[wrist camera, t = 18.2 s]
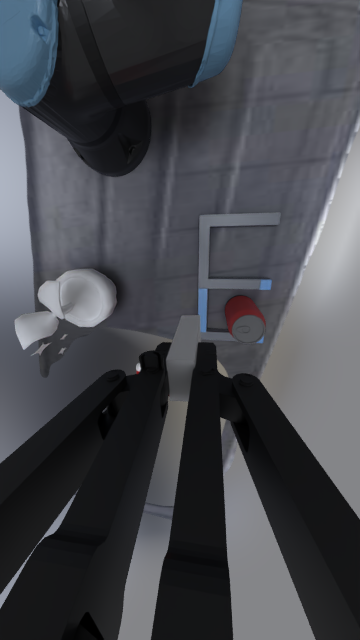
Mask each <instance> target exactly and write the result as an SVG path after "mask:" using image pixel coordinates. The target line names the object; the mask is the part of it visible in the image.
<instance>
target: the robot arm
mask: <svg viewBox="0 0 360 640" xmlns="http://www.w3.org/2000/svg"><path fill="white" fill-rule="evenodd" d="M242 2H243V0H0V89H1V90H2V91H3V92H4V93H5V94H6V95H7V96H8V97H9V98H10V99H11V100H12V101H13V102H14V103H16V104H18V105H19V106H21V107H23V108H24V109H26V110H27V111H29V112H30V113H31V114H33V115H34V116H36V117H37V118H39V119H40V120H42V121H43V122H45V123H46V124H47V125H49V126H50V127H52V128H53V129H55V130H56V131H58V132H59V133H60V134H62V135H63V136H65V137H66V138H67V139H68V140H69V142H70V144H71V145H72V147H73V148H74V150H75V152H76V153H77V154H78V156H79V157H80V158H81V159H82V160H83V161H84V162H85V163H86V164H87V165H88V166H89V167H91V168H92V169H94V170H96V171H97V172H99V173H101V174H103V175H107V176H122V175H125V174H127V173H129V172H131V171H132V170H133V169H135V168H136V167H137V166H138V165H139V163H140V162H141V161H142V159H143V158H144V156H145V154H146V151H147V149H148V146H149V142H150V136H151V118H150V112H149V108H148V105H147V102H146V99H149V98H152V97H155V96H158V95H161V94H164V93H167V92H170V91H173V90H176V89H179V88H182V87H185V86H188V87H189V88H192V87H194V86H195V85H197V83H198V82H201V81H203V80H206V79H209V78H211V77H214V76H216V75H218V74H219V73H221V72H222V71H223V69H224V68H225V66H226V65H227V63H228V62H229V60H230V57H231V55H232V52H233V49H234V45H235V42H236V37H237V32H238V27H239V22H240V15H241V9H242ZM139 361H140V367H141V370H140V372H139V373H138V374H135V375H129V376H126V374H125V372H124V371H122V370H111V371H109V372H106V373H105V374H103V375H102V376H101V377H100V378H99V379H98V380H96V381H95V382H94V383H93V384H92V385H91V386H89V387H88V388H87V389H86V390H85V391H83V392H82V393H81V394H80V395H79V396H78V397H77V398H75V399H74V400H73V401H72V402H71V403H70V404H68V405H67V406H66V407H65V408H64V409H63V410H62V411H60V412H59V413H58V414H57V415H56V416H55V417H54V418H53V419H51V420H50V421H49V422H48V423H47V424H45V426H43V427H42V428H41V429H40V430H39V431H37V432H36V433H35V434H34V435H33V436H32V437H31V438H29V439H28V440H27V441H26V442H25V443H24V444H22V445H21V446H20V447H19V448H18V449H17V450H16V451H14V452H13V453H12V454H11V455H10V456H9V457H7V458H6V459H5V460H4V461H3V462H2V463H0V594H1V593H2V592H3V590H4V589H5V587H6V586H7V584H8V583H9V582H10V581H11V579H12V578H13V577H14V575H15V574H16V573H17V571H18V570H19V569H20V567H21V566H22V564H23V563H24V562H25V560H26V559H27V557H28V556H29V555H30V554H31V552H32V551H33V549H34V548H35V546H36V545H37V544H38V543H39V541H40V540H41V539H42V537H43V536H44V535H45V533H46V532H47V531H48V529H49V528H50V526H51V525H52V524H53V522H54V520H55V519H56V518H57V517H58V515H59V514H60V513H61V512H62V510H63V509H64V507H65V506H66V505H67V503H68V502H69V501H70V499H71V498H72V496H73V495H74V494H75V493H76V491H77V490H78V488H79V487H80V488H79V490H78V492H77V494H76V496H75V498H74V500H73V502H72V504H71V506H70V508H69V510H68V512H67V514H66V516H65V518H64V519H63V521H62V523H61V525H60V527H59V528H58V529H57V531H56V532H55V533H54V534H52V535H49V536H47V537H45V538H44V539H43V540H42V541H41V542H40V543H39V544H38V545H37V546H36V548H35V550H34V551H33V553H32V554H31V556H30V557H29V559H28V561H27V562H26V564H25V566H24V568H23V569H22V571H21V573H20V575H19V577H18V579H17V580H16V582H15V584H14V586H13V587H12V589H11V591H10V593H9V595H8V596H7V598H6V600H5V602H4V603H3V605H2V607H1V609H0V640H117V639H118V634H119V629H120V625H121V619H122V612H123V600H124V590H125V584H126V579H127V575H128V571H129V567H130V563H131V559H132V555H133V550H134V546H135V542H136V538H137V534H138V530H139V526H140V521H141V517H142V513H143V509H144V505H145V501H146V497H147V492H148V489H149V484H150V480H151V476H152V472H153V468H154V464H155V459H156V456H157V451H158V447H159V443H160V439H161V435H162V430H163V426H164V422H165V418H166V414H167V410H168V396H169V397H170V401H188V409H187V416H186V423H185V431H184V438H183V445H182V452H181V460H180V467H179V474H178V482H177V489H176V497H175V504H174V511H173V518H172V526H171V533H170V541H169V546H168V551H167V553H166V556H165V558H164V561H163V566H162V571H161V577H160V583H159V590H158V596H157V602H156V609H155V616H154V623H153V629H152V636H151V640H233V628H232V610H231V592H230V578H229V568H228V561H227V544H226V524H225V504H224V484H223V464H222V444H221V424H220V417H221V418H224V419H227V420H229V421H230V422H231V426H232V428H233V431H234V434H235V436H236V439H237V441H238V443H239V446H240V449H241V451H242V454H243V456H244V459H245V461H246V464H247V466H248V469H249V472H250V474H251V476H252V479H253V482H254V484H255V487H256V489H257V491H258V494H259V497H260V499H261V502H262V505H263V507H264V509H265V512H266V515H267V517H268V520H269V522H270V525H271V527H272V530H273V532H274V535H275V538H276V540H277V543H278V545H279V547H280V550H281V553H282V555H283V558H284V560H285V563H286V565H287V568H288V570H289V573H290V576H291V578H292V580H293V583H294V585H295V588H296V591H297V593H298V596H299V598H300V601H301V603H302V606H303V608H304V611H305V614H306V616H307V619H308V621H309V624H310V626H311V629H312V631H313V634H314V636H315V639H316V640H360V519H359V518H358V516H357V515H356V514H355V512H354V511H353V509H352V508H351V507H350V506H349V504H348V503H347V501H346V500H345V499H344V497H343V496H342V494H341V493H340V491H339V490H338V489H337V487H336V486H335V484H334V483H333V482H332V480H331V479H330V477H329V476H328V475H327V474H326V472H325V471H324V469H323V468H322V466H321V465H320V464H319V462H318V461H317V460H316V458H315V457H314V455H313V454H312V452H311V451H310V450H309V448H308V447H307V446H306V444H305V443H304V442H303V440H302V439H301V437H300V436H299V435H298V433H297V432H296V430H295V429H294V427H293V426H292V425H291V423H290V422H289V421H288V419H287V418H286V416H285V415H284V414H283V412H282V411H281V410H280V408H279V407H278V405H277V404H276V402H275V401H274V400H273V398H272V397H271V396H270V394H269V393H268V391H267V390H266V389H265V387H264V386H263V384H262V383H261V382H260V380H259V379H258V378H257V377H255V376H253V375H251V374H246V373H241V374H237V375H235V376H234V377H233V379H232V378H228V377H225V376H223V375H221V374H220V373H219V372H218V370H217V355H216V346H215V345H214V343H206V342H201V328H200V315H182V316H181V319H180V322H179V325H178V327H177V330H176V333H175V336H174V339H173V341H172V343H170V342H169V343H167V342H166V343H165V342H163V343H161V344H159V345H158V346H157V348H156V350H155V351H147V352H144V353H142V354H141V355H140V356H139ZM105 408H107V410H106V411H105V412H103V413H102V411H103V410H104V409H105Z"/></svg>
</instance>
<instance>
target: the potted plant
mask: <svg viewBox="0 0 360 640" xmlns="http://www.w3.org/2000/svg"><path fill="white" fill-rule="evenodd" d="M116 294H117V291H116V286H115V284H114V283H113V282H112V280H111V279H109V278H107V277H106V275H104V274H102V273H100V272H98V271H96V270H94V269H93V268H90V269H76V270H71V271H66V272H65V273H64V274H63V275H61V276H60V277H59V278H58V279H56V281H46V282H45V283H44V284H43V285H42V286H41V287H40V288H39V292H38V298H39V301H40V302H41V303H43V304H44V305H45V306H47V307H48V308H49V309H50V310H51V311H52V313H50V312H48V311H44V312H35V313H29V314H22V315H21V316H19V317H18V318H17V319H16V320H15V330H16V334H17V336H18V338H19V341H20V343H21V345H22V347H23V349H24V350H25V349H26V348H27V347H28V346H29V345H30V344H32V343H33V342H34V341H37V340H39V339H42V338H45V337H48V336H51V335H52V334H53V333H54V332H55V331H56V330H57V327H58V323H59V321H58V319H57V318H56V317H59V318H60V319H64V318H65V319H66V320H67V321H69V322H71V323H73V324H75V325H77V326H79V327H94V326H95V325H97V324H98V323H100V322H101V321H103V320H104V319H106V318H107V317H109V316H110V315H111V314H112V313H113V311H114V308H115V306H116V303H117V299H116ZM67 335H68V334H67ZM65 336H66V335H64V336H63V337H62V338H61V339H64V338H65ZM49 344H50V343H49ZM49 344H46V345H44V344H42V346H41V347H40V348H39V349H38V350H37V351H36V352H35V353H34V354H36V353H39V354H41V352H42V351H43V349H44V348H45V347H46V346H48V345H49ZM64 350H65V348H64V349H63V348H62V349H61V351H60V352H59V353H63V351H64ZM59 353H58V354H59Z"/></svg>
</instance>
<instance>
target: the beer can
mask: <svg viewBox="0 0 360 640" xmlns="http://www.w3.org/2000/svg"><path fill="white" fill-rule="evenodd" d="M225 315H226V320H227V326H228V330H229V332H230V334H231V335H232V337H233V338H234V339H235V340H236V341H238V342H239V343H241V344H245V345H250V344H254V343H257V342H258V341H260V340H261V339H262V338H263V336H264V334H265V328H266V323H265V319H264V316H263V315H262V313H261V312H260V311H259V309H258V308H257V306H256V305H255V303H254V302H253V301H252V300H251V299H250V298H248V297H247V296H236V297H233V298H232V299H230V300H229V301H228V303H227V304H226V307H225Z"/></svg>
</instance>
